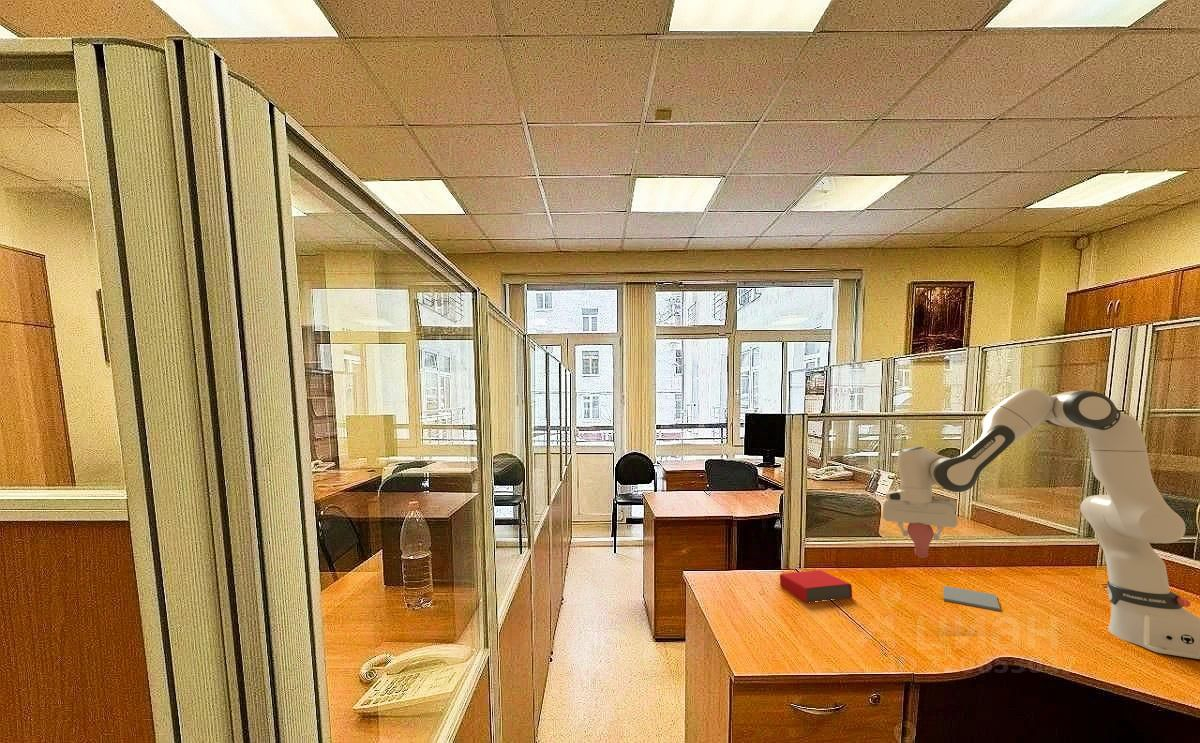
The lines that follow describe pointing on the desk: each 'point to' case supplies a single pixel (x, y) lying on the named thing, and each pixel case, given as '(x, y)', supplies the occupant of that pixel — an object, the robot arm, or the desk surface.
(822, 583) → the red device housing
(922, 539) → the light bulb
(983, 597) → the mat
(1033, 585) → the desk surface
